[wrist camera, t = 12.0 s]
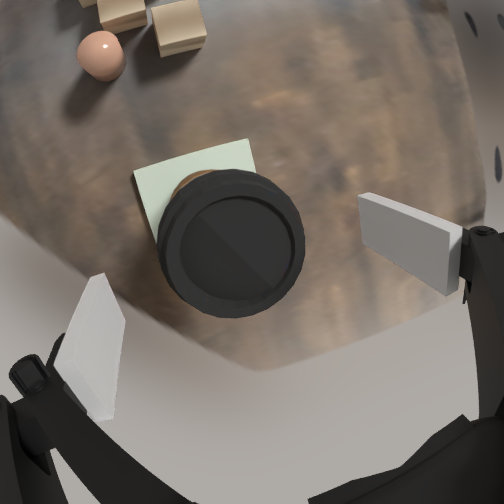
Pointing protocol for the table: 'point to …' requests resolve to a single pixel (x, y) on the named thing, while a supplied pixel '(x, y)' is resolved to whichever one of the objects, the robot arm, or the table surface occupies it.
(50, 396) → the robot arm
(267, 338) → the table surface
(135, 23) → the maple cube
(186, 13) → the maple cube
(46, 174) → the table surface
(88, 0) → the maple cube
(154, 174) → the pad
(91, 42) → the pink rounded piece
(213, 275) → the coffee cup
